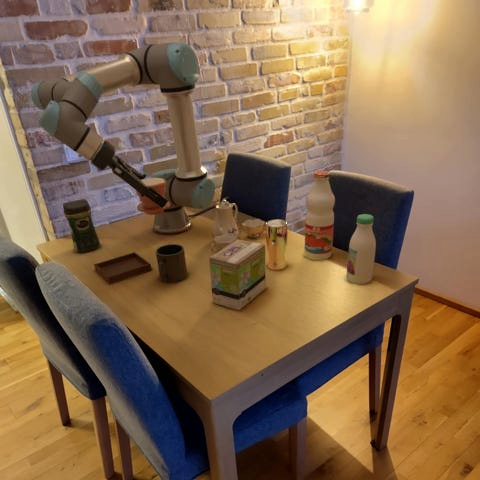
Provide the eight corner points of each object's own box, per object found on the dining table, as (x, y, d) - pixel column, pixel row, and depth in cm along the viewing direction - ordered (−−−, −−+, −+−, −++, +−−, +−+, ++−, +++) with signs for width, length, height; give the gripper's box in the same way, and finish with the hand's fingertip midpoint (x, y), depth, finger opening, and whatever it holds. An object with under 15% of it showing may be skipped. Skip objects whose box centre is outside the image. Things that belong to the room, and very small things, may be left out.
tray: (135, 257, 158) (134, 251, 156) (152, 269, 148) (150, 263, 147) (95, 270, 151) (93, 264, 149) (109, 284, 141) (108, 277, 140)
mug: (168, 269, 148) (163, 243, 143) (191, 271, 146) (188, 245, 140) (149, 286, 139) (144, 259, 133) (175, 289, 136) (170, 261, 131)
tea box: (241, 311, 123) (237, 263, 115) (212, 303, 127) (207, 257, 119) (267, 288, 133) (265, 243, 125) (239, 281, 138) (236, 237, 130)
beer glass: (290, 263, 147) (290, 220, 139) (283, 271, 142) (283, 228, 133) (271, 260, 149) (270, 218, 141) (263, 268, 144) (262, 225, 136)
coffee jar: (97, 242, 173) (85, 195, 162) (102, 248, 167) (91, 200, 157) (72, 248, 169) (59, 201, 159) (77, 255, 163) (63, 206, 153)
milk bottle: (372, 274, 137) (380, 212, 126) (370, 285, 131) (378, 222, 120) (347, 271, 139) (353, 211, 128) (344, 283, 133) (349, 220, 122)
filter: (161, 204, 139) (156, 175, 134) (176, 211, 132) (172, 181, 127) (132, 211, 134) (126, 182, 129) (146, 219, 127) (141, 188, 122)
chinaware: (230, 264, 152) (231, 219, 142) (192, 251, 159) (190, 207, 149) (269, 235, 172) (272, 194, 162) (233, 225, 179) (234, 185, 169)
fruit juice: (335, 251, 152) (340, 169, 137) (327, 262, 145) (332, 177, 130) (309, 247, 156) (312, 167, 141) (300, 258, 149) (302, 175, 134)
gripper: (89, 154, 130) (151, 198, 142) (89, 171, 112) (160, 220, 123) (103, 133, 128) (165, 180, 140) (105, 147, 110) (176, 199, 122)
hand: (162, 199), depth 132 cm, fingers closed on filter, 10 cm apart
